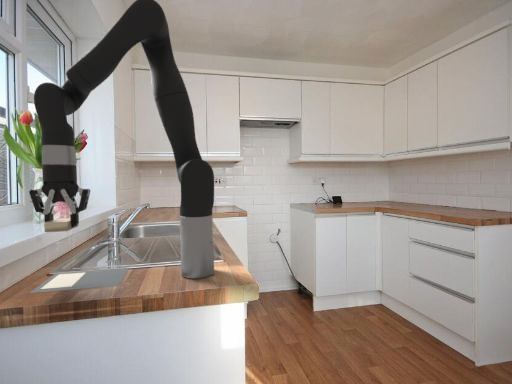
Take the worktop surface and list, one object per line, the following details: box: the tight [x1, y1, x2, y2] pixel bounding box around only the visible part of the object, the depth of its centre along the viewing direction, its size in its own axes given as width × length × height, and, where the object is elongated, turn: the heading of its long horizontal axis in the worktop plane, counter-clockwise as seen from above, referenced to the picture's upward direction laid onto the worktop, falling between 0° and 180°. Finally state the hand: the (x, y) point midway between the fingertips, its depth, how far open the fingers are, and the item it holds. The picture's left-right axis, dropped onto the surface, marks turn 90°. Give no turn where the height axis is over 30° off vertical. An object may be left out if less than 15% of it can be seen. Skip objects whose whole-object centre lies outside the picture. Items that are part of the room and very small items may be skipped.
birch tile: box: [43, 217, 79, 233], centre depth 78 cm, size 8×5×2 cm, turn 13°
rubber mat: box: [29, 267, 130, 294], centre depth 80 cm, size 20×15×1 cm
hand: (62, 227), depth 78 cm, fingers closed on birch tile, 5 cm apart
